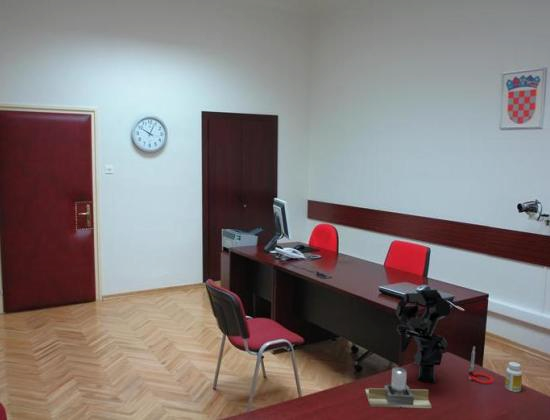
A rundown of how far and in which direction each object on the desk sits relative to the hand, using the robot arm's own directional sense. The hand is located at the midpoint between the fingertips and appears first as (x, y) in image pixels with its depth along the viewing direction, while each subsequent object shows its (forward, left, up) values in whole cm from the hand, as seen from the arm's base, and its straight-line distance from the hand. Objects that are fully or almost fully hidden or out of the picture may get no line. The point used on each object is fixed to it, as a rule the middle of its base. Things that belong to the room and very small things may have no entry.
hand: (412, 356), depth 178 cm
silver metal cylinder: (+9, -3, -12) cm, 16 cm away
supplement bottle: (-18, +36, -14) cm, 42 cm away
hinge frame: (+8, -4, -13) cm, 16 cm away
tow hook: (-22, +25, -14) cm, 36 cm away
